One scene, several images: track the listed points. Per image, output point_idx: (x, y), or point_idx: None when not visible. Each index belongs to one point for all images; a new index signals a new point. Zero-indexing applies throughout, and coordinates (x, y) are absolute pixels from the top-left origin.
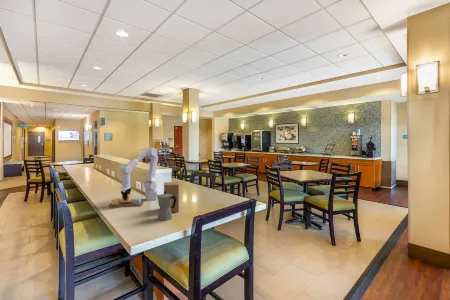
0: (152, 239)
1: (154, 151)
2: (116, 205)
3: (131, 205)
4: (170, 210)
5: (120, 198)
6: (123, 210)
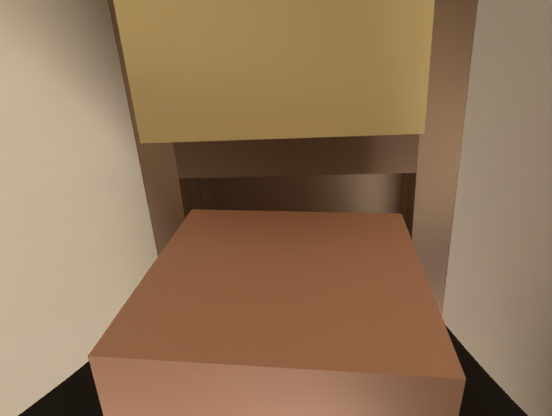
0: None
1: None
2: None
3: None
4: None
5: (383, 134)
6: (37, 252)
